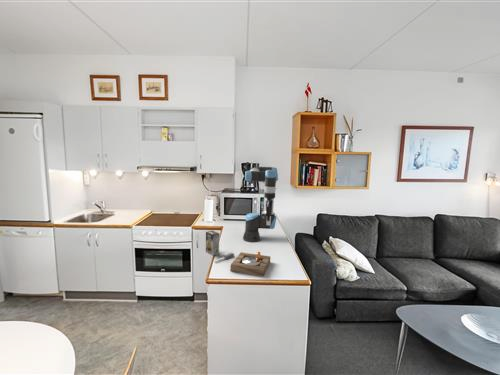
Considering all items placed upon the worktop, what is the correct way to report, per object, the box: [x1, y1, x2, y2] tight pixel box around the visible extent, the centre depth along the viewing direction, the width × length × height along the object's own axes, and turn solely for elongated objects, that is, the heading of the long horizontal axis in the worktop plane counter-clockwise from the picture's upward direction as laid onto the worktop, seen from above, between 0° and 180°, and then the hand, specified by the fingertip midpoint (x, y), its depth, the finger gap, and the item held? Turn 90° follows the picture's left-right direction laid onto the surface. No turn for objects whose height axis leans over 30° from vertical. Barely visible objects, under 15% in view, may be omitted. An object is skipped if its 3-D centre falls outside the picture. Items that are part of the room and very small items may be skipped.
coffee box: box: [205, 230, 220, 256], centre depth 193 cm, size 9×6×16 cm
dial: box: [242, 251, 261, 266], centre depth 173 cm, size 13×13×8 cm
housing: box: [230, 251, 271, 277], centre depth 174 cm, size 22×22×5 cm
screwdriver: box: [214, 252, 235, 263], centre depth 184 cm, size 17×3×2 cm, turn 138°
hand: (268, 225), depth 182 cm, fingers closed
